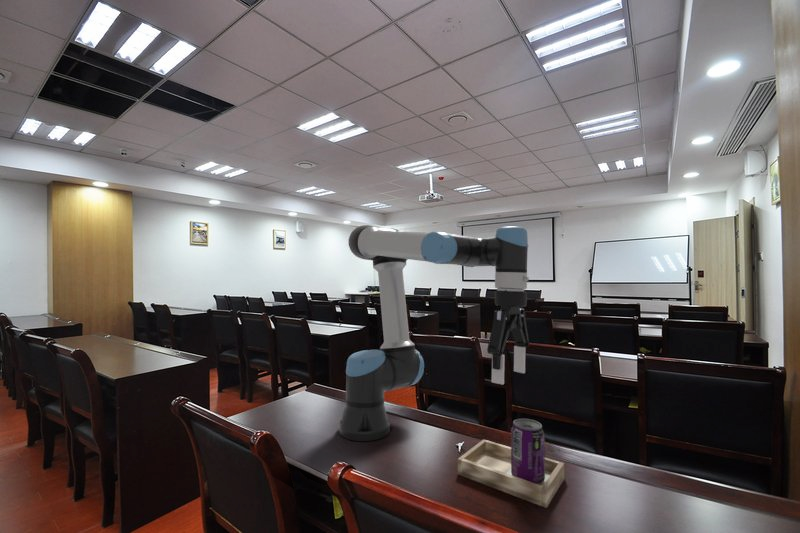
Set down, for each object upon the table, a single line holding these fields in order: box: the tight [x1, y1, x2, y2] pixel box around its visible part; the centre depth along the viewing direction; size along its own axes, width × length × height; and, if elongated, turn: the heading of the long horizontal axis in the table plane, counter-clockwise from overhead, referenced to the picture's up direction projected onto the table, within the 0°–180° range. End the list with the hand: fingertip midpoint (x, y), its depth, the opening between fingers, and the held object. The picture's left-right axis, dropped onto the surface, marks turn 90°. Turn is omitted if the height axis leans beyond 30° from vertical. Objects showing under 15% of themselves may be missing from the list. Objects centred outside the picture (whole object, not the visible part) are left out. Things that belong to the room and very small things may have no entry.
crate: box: [457, 439, 565, 509], centre depth 82 cm, size 20×14×4 cm
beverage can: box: [510, 418, 546, 484], centre depth 80 cm, size 7×7×12 cm
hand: (509, 377), depth 86 cm, fingers open, 13 cm apart
